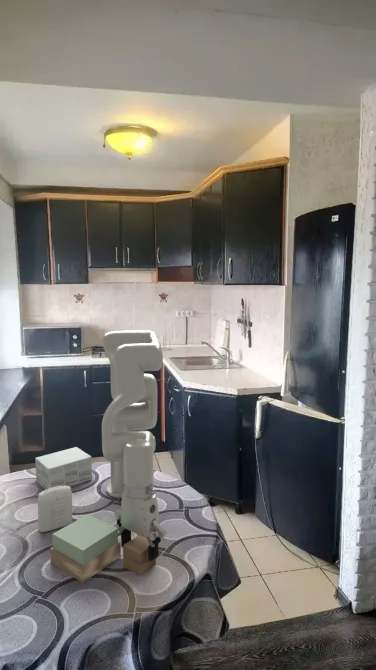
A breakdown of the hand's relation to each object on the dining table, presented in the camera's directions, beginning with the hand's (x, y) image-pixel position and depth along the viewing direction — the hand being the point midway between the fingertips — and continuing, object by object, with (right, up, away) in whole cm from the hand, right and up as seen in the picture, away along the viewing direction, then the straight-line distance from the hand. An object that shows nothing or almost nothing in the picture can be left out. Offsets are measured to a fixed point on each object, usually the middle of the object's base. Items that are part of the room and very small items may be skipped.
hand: (139, 551), depth 113 cm
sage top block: (-15, 0, +3) cm, 15 cm away
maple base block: (-15, -4, +3) cm, 16 cm away
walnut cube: (0, -4, +1) cm, 4 cm away
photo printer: (-28, -2, +19) cm, 34 cm away
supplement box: (-34, +1, +50) cm, 61 cm away
